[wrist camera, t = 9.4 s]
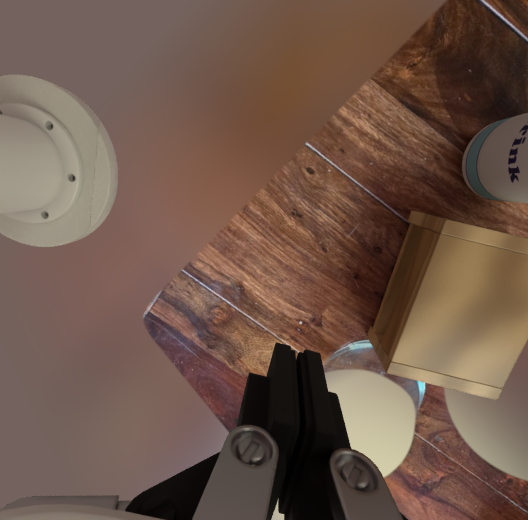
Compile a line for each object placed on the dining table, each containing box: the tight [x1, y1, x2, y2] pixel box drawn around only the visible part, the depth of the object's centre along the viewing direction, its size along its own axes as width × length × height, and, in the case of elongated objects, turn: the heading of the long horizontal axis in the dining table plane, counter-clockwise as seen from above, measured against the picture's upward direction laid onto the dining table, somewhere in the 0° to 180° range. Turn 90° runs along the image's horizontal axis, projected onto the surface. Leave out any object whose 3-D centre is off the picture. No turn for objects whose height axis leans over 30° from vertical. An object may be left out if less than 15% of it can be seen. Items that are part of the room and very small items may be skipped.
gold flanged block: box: [367, 210, 528, 400], centre depth 29 cm, size 10×14×7 cm
